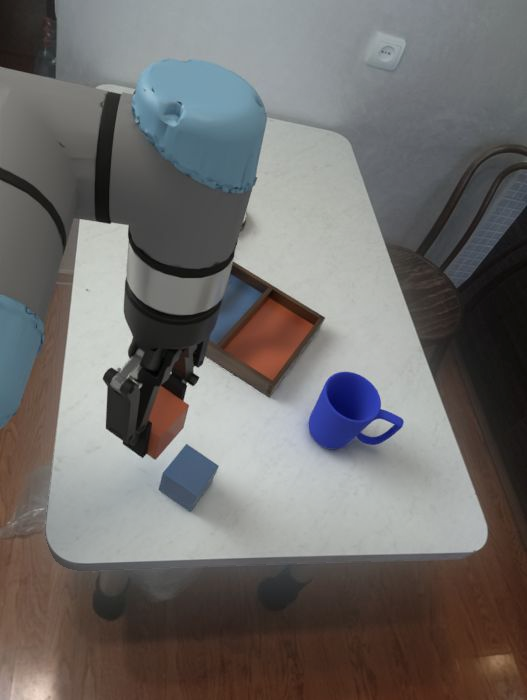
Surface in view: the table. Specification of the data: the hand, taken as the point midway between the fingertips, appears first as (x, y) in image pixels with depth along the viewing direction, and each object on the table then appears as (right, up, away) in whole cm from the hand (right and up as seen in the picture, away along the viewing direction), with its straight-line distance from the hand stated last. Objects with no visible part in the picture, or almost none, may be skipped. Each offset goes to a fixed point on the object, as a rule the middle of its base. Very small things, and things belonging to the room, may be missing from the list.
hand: (152, 429), depth 59 cm
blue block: (+2, -9, +11) cm, 14 cm away
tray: (+9, +13, +30) cm, 33 cm away
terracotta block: (0, 0, 0) cm, 0 cm away
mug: (+24, -4, +22) cm, 32 cm away
